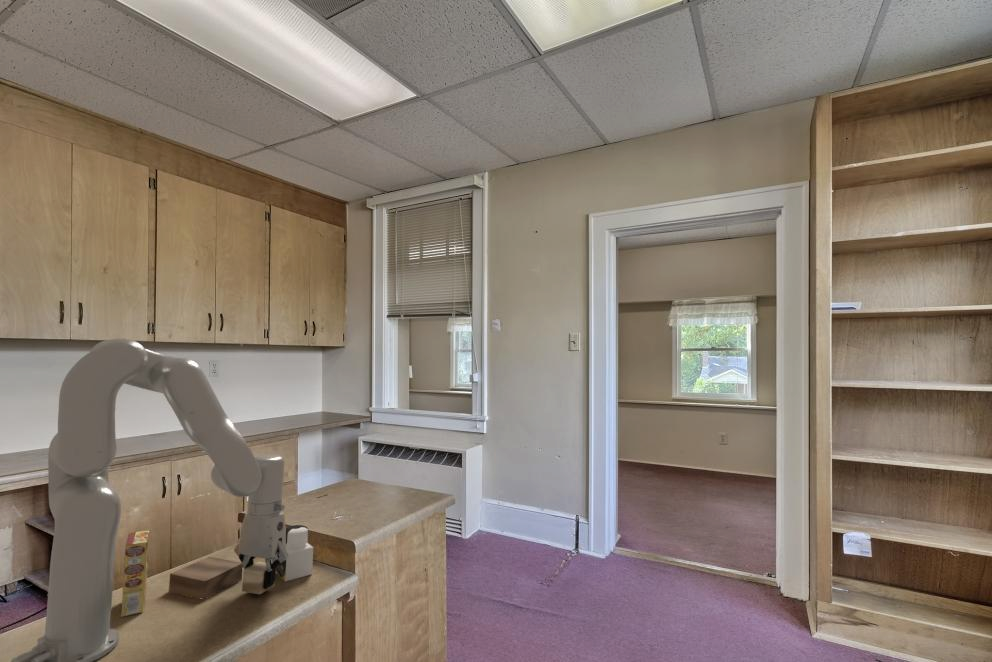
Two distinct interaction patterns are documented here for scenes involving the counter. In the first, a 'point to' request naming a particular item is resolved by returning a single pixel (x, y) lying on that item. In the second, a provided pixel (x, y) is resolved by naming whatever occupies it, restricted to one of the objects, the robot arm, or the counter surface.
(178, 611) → the counter surface
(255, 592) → the maple cube
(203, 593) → the walnut block
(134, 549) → the candy box
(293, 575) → the medicine bottle
